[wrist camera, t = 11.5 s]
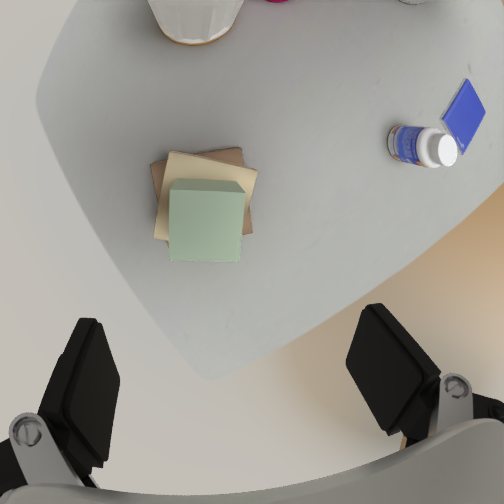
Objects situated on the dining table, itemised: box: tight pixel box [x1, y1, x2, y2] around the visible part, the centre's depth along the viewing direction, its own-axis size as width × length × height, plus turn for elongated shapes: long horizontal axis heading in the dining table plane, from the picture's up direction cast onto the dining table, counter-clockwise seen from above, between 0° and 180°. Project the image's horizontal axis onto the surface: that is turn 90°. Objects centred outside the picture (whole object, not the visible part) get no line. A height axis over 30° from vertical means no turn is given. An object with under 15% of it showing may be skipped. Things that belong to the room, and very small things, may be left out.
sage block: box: [169, 178, 246, 262], centre depth 26 cm, size 6×6×6 cm
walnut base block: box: [150, 147, 253, 248], centre depth 32 cm, size 10×10×3 cm
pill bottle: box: [388, 125, 457, 168], centre depth 30 cm, size 5×5×10 cm
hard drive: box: [439, 79, 485, 155], centre depth 34 cm, size 2×8×12 cm
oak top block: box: [153, 151, 258, 241], centre depth 30 cm, size 9×9×3 cm
